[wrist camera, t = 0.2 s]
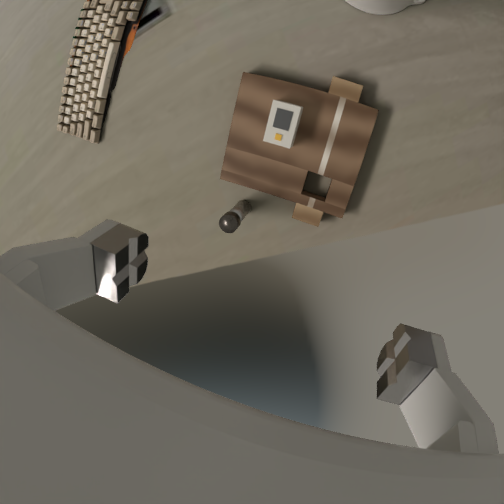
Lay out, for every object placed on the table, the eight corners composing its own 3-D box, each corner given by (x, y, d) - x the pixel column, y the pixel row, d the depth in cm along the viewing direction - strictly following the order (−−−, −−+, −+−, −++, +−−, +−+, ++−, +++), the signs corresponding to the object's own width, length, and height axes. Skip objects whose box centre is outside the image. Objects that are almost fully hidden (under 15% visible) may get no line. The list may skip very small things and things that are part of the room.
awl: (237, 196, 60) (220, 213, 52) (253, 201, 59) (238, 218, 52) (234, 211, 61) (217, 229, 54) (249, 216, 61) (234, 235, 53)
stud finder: (276, 99, 47) (272, 99, 44) (303, 106, 46) (301, 107, 44) (267, 138, 50) (262, 141, 48) (292, 146, 50) (289, 148, 47)
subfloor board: (251, 57, 46) (246, 55, 44) (381, 93, 43) (383, 93, 41) (221, 189, 60) (217, 193, 58) (336, 227, 57) (336, 233, 55)
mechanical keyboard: (111, 147, 63) (102, 150, 60) (61, 129, 64) (51, 132, 62) (154, -12, 43) (145, -15, 40) (93, -10, 45) (83, -12, 42)
